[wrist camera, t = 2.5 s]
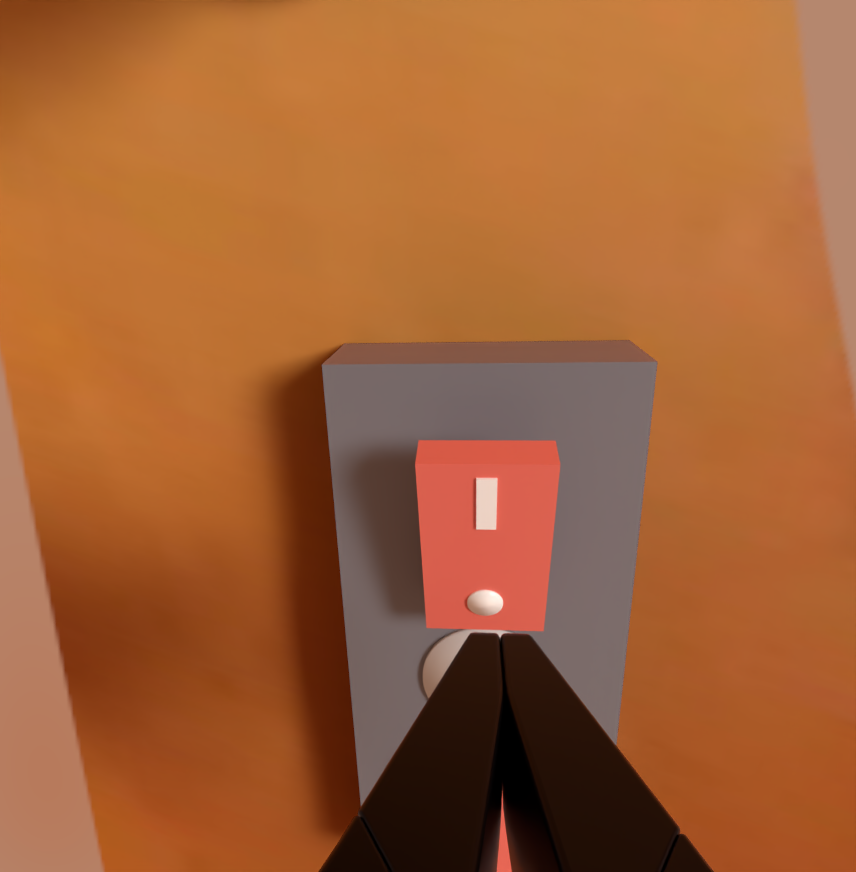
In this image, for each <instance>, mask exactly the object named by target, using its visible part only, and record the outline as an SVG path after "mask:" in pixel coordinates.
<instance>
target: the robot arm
mask: <svg viewBox="0 0 856 872" xmlns="http://www.w3.org/2000/svg"><path fill="white" fill-rule="evenodd" d="M502 796H503V811H504V819H505V828H506V835H507V842H508V849H509V855H510V862H511V869H512V872H714V871H713V870H712V869H711V868H710V866H709V865H708V864H707V863H706V861H705V860H704V859H703V857H702V856H701V855H700V854H699V852H698V851H697V850H696V848H695V847H694V846H693V844H692V843H691V842H690V840H689V839H688V838H687V836H686V835H684V834H680V828H679V827H678V825H677V824H676V823H675V821H674V820H673V819H672V817H671V816H670V815H669V814H668V812H667V811H666V810H665V808H664V807H663V806H662V805H661V803H660V802H659V801H658V799H657V798H656V797H655V795H654V794H653V793H652V792H651V790H650V789H649V788H648V786H647V785H646V784H645V782H644V781H643V780H642V779H641V777H640V776H639V775H638V773H637V772H636V771H635V770H634V768H633V767H632V766H631V764H630V763H629V762H628V760H627V759H626V758H625V757H624V755H623V754H622V753H621V751H620V750H619V749H618V747H617V746H616V745H615V744H614V742H613V741H612V740H611V738H610V737H609V736H608V735H607V733H606V732H605V731H604V729H603V728H602V727H601V725H600V724H599V723H598V722H597V720H596V719H595V718H594V716H593V715H592V714H591V712H590V711H589V710H588V709H587V707H586V706H585V705H584V703H583V702H582V701H581V700H580V698H579V697H578V696H577V694H576V693H575V692H574V690H573V689H572V688H571V687H570V685H569V684H568V683H567V681H566V680H565V679H564V677H563V676H562V675H561V674H560V672H559V671H558V670H557V668H556V667H555V666H554V665H553V663H552V662H551V661H550V659H549V658H548V657H547V655H546V654H545V653H544V652H543V650H542V649H541V648H540V646H539V645H538V644H537V642H536V641H535V640H534V639H533V637H532V636H531V635H529V634H519V633H504V634H502V635H501V637H499V635H498V634H497V633H485V632H473V633H470V634H469V636H468V637H467V638H466V640H465V642H464V643H463V645H462V646H461V648H460V650H459V651H458V653H457V654H456V656H455V658H454V659H453V661H452V662H451V664H450V666H449V667H448V669H447V670H446V672H445V673H444V675H443V677H442V678H441V680H440V681H439V683H438V685H437V686H436V688H435V689H434V691H433V693H432V694H431V696H430V697H429V699H428V701H427V702H426V704H425V705H424V707H423V709H422V710H421V712H420V713H419V715H418V717H417V718H416V720H415V721H414V723H413V724H412V726H411V728H410V729H409V731H408V732H407V734H406V736H405V737H404V739H403V740H402V742H401V744H400V745H399V747H398V748H397V750H396V752H395V753H394V755H393V756H392V758H391V760H390V761H389V763H388V764H387V766H386V768H385V769H384V771H383V772H382V774H381V775H380V777H379V779H378V780H377V782H376V783H375V785H374V787H373V788H372V790H371V791H370V793H369V795H368V796H367V798H366V799H365V801H364V803H363V804H362V806H361V807H360V809H359V811H358V816H355V817H354V818H353V820H352V821H351V823H350V824H349V826H348V827H347V829H346V831H345V832H344V834H343V835H342V837H341V839H340V840H339V842H338V843H337V845H336V847H335V848H334V850H333V851H332V852H331V854H330V855H329V857H328V858H327V860H326V861H325V863H324V864H323V866H322V867H321V869H320V870H319V872H497V862H498V851H499V839H500V827H501V810H502Z"/></svg>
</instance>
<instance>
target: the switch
mask: <svg viewBox="0 0 856 872" xmlns="http://www.w3.org/2000/svg"><path fill="white" fill-rule="evenodd" d="M415 469H416V483H417V498H418V512H419V526H420V541H421V555H422V570H423V584H424V599H425V613H426V627H427V628H441V629H477V630H513V631H544V623H545V613H546V603H547V593H548V583H549V573H550V563H551V553H552V543H553V533H554V524H555V514H556V504H557V494H558V484H559V474H560V460H559V455H558V450H557V445H556V441H529V440H419V441H418V448H417V455H416V462H415Z"/></svg>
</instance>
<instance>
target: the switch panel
mask: <svg viewBox="0 0 856 872" xmlns="http://www.w3.org/2000/svg"><path fill="white" fill-rule="evenodd" d="M656 370H657V361H656V360H654V359H653V358H652V357H651V356H649V355H648V354H647V353H645V352H644V351H643V350H641V349H640V348H639V347H638V346H636V345H635V344H634V343H632V342H631V341H630V340H621V341H534V342H446V343H358V344H344V345H342V346H341V347H340V348H339V349H338V350H337V351H336V352H335V353H334V354H333V355H332V356H331V357H329V358H328V359H327V360H326V361H325V362H324V363H323V364H322V373H323V384H324V396H325V407H326V418H327V430H328V441H329V452H330V463H331V475H332V486H333V497H334V509H335V520H336V531H337V542H338V554H339V565H340V576H341V587H342V599H343V610H344V621H345V633H346V644H347V655H348V666H349V678H350V689H351V700H352V712H353V723H354V734H355V745H356V757H357V768H358V779H359V791H360V802H361V806H362V804H363V803H364V801H365V799H366V798H367V796H368V795H369V793H370V791H371V790H372V788H373V787H374V785H375V783H376V782H377V780H378V779H379V777H380V775H381V774H382V772H383V771H384V769H385V768H386V766H387V764H388V763H389V761H390V760H391V758H392V756H393V755H394V753H395V752H396V750H397V748H398V747H399V745H400V744H401V742H402V740H403V739H404V737H405V736H406V734H407V732H408V731H409V729H410V728H411V726H412V724H413V723H414V721H415V720H416V718H417V717H418V715H419V713H420V712H421V710H422V709H423V707H424V705H425V704H426V702H427V701H428V699H429V697H430V696H431V694H432V693H433V691H434V689H435V688H436V686H437V685H438V683H439V681H440V680H441V678H442V677H443V675H444V673H445V672H446V670H447V669H448V667H449V666H450V664H451V662H452V661H453V659H454V658H455V656H456V654H457V653H458V651H459V650H460V648H461V646H462V645H463V643H464V642H465V640H466V638H467V637H468V636H469V634H470V633H473V632H485V633H497V634H498V635H499V637H501V635H502V634H504V633H519V634H529V635H531V636H532V637H533V639H534V640H535V641H536V642H537V644H538V645H539V646H540V648H541V649H542V650H543V652H544V653H545V654H546V655H547V657H548V658H549V659H550V661H551V662H552V663H553V665H554V666H555V667H556V668H557V670H558V671H559V672H560V674H561V675H562V676H563V677H564V679H565V680H566V681H567V683H568V684H569V685H570V687H571V688H572V689H573V690H574V692H575V693H576V694H577V696H578V697H579V698H580V700H581V701H582V702H583V703H584V705H585V706H586V707H587V709H588V710H589V711H590V712H591V714H592V715H593V716H594V718H595V719H596V720H597V722H598V723H599V724H600V725H601V727H602V728H603V729H604V731H605V732H606V733H607V735H608V736H609V737H610V738H611V740H612V741H613V742H614V744H615V745H616V743H617V733H618V724H619V715H620V705H621V696H622V687H623V678H624V668H625V659H626V650H627V640H628V631H629V622H630V612H631V603H632V594H633V584H634V575H635V566H636V556H637V547H638V538H639V529H640V519H641V510H642V501H643V491H644V482H645V473H646V463H647V454H648V445H649V435H650V426H651V417H652V407H653V398H654V389H655V379H656ZM419 440H529V441H556V445H557V450H558V455H559V460H560V474H559V484H558V494H557V504H556V514H555V524H554V533H553V543H552V553H551V563H550V573H549V583H548V593H547V603H546V613H545V623H544V631H513V630H477V629H441V628H427V627H426V613H425V599H424V584H423V570H422V555H421V541H420V526H419V512H418V498H417V483H416V469H415V462H416V455H417V448H418V441H419Z"/></svg>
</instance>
